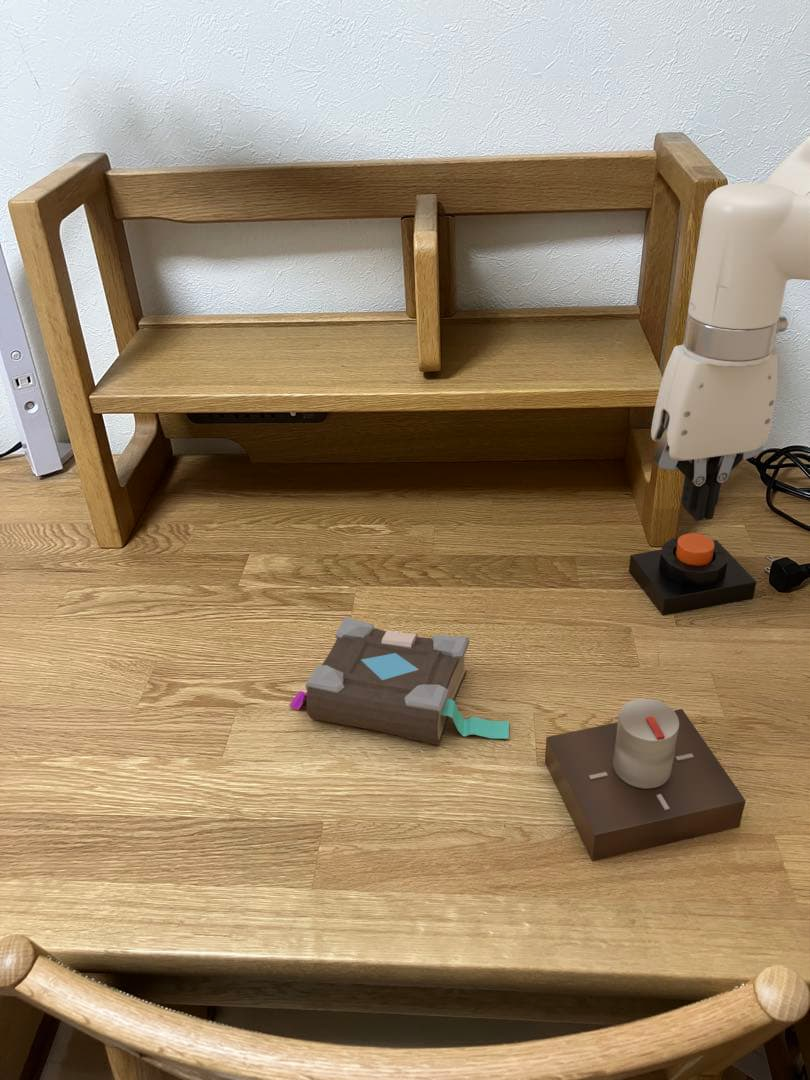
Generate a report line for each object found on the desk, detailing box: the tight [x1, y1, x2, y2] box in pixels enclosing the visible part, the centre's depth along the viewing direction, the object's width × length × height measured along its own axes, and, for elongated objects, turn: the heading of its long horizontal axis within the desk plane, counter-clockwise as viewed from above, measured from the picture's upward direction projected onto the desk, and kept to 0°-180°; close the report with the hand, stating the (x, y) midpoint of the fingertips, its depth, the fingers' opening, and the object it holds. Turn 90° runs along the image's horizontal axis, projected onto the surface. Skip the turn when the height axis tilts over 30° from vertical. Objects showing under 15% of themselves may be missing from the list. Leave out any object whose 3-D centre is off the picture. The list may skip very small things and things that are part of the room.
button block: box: [628, 536, 757, 617], centre depth 93 cm, size 10×8×4 cm
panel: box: [544, 708, 747, 862], centre depth 71 cm, size 12×10×3 cm
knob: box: [613, 698, 679, 789], centre depth 68 cm, size 4×4×6 cm
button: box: [676, 532, 715, 566], centre depth 91 cm, size 4×4×2 cm
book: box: [288, 616, 510, 747], centre depth 81 cm, size 20×12×5 cm, turn 72°
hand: (697, 512), depth 89 cm, fingers closed
